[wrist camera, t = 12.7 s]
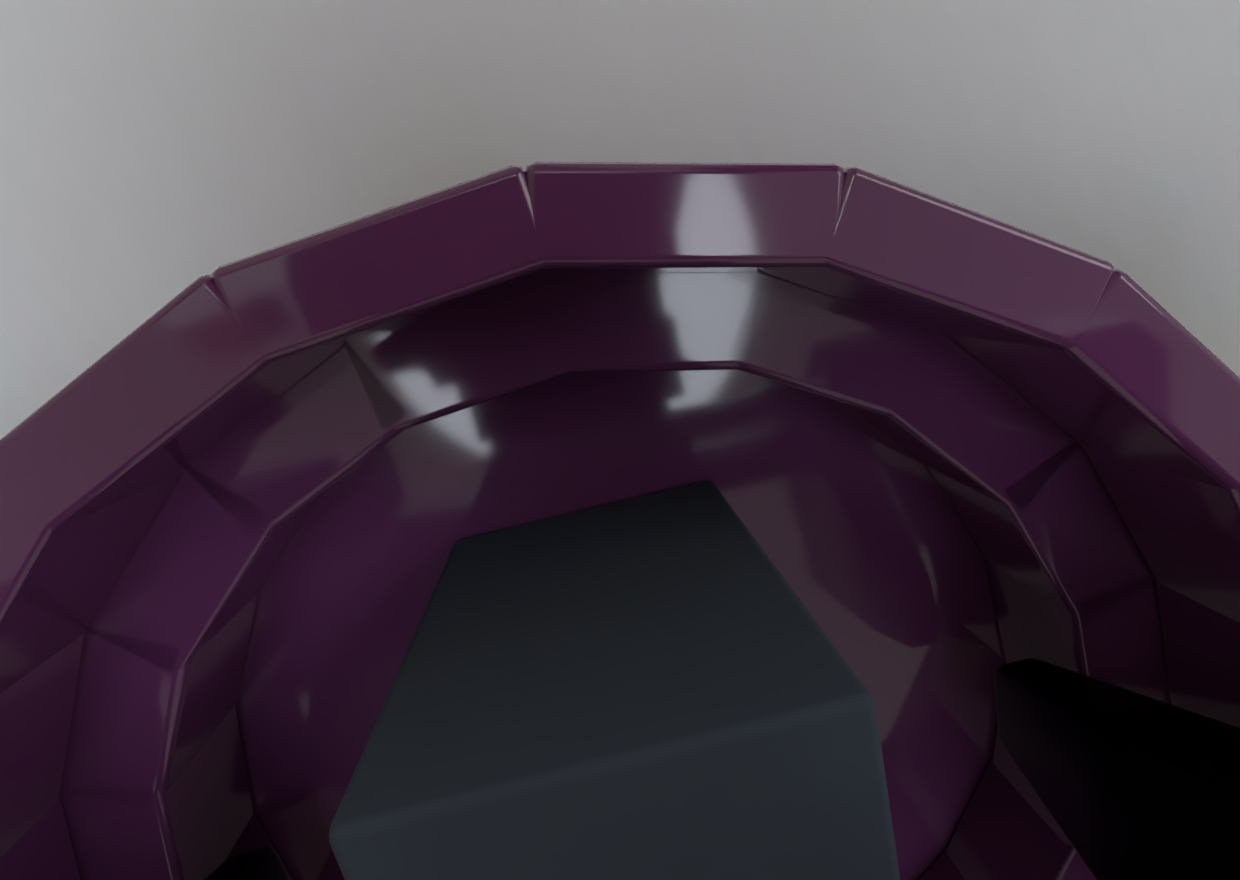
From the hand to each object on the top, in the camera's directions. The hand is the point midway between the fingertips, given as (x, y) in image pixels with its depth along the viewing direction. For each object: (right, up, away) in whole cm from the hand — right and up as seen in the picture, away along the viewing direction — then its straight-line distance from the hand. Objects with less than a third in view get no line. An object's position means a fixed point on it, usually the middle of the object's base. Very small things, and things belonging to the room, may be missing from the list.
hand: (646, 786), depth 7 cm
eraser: (0, 0, +1) cm, 1 cm away
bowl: (0, 0, +1) cm, 2 cm away
